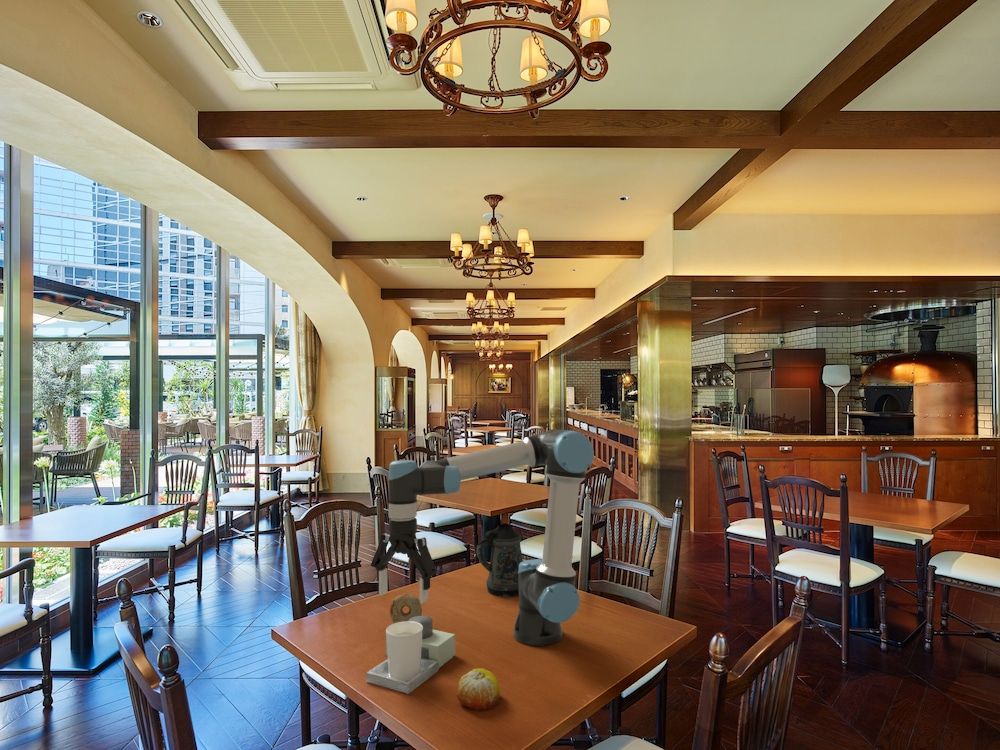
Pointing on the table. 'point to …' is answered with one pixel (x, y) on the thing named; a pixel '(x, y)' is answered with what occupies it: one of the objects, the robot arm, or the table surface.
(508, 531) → the beer stein
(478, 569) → the table surface
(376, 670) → the gray square tray
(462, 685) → the fruit
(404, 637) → the candle holder
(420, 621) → the push-button box
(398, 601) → the stone disc
